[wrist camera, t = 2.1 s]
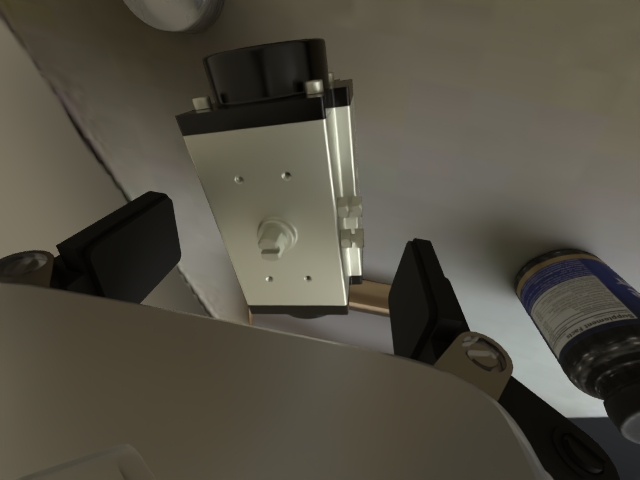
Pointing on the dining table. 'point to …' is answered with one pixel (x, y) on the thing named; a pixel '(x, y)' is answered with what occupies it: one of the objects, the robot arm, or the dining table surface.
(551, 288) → the pill bottle
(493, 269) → the dining table surface
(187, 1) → the steel spacer
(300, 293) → the pneumatic valve
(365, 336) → the framed panel
